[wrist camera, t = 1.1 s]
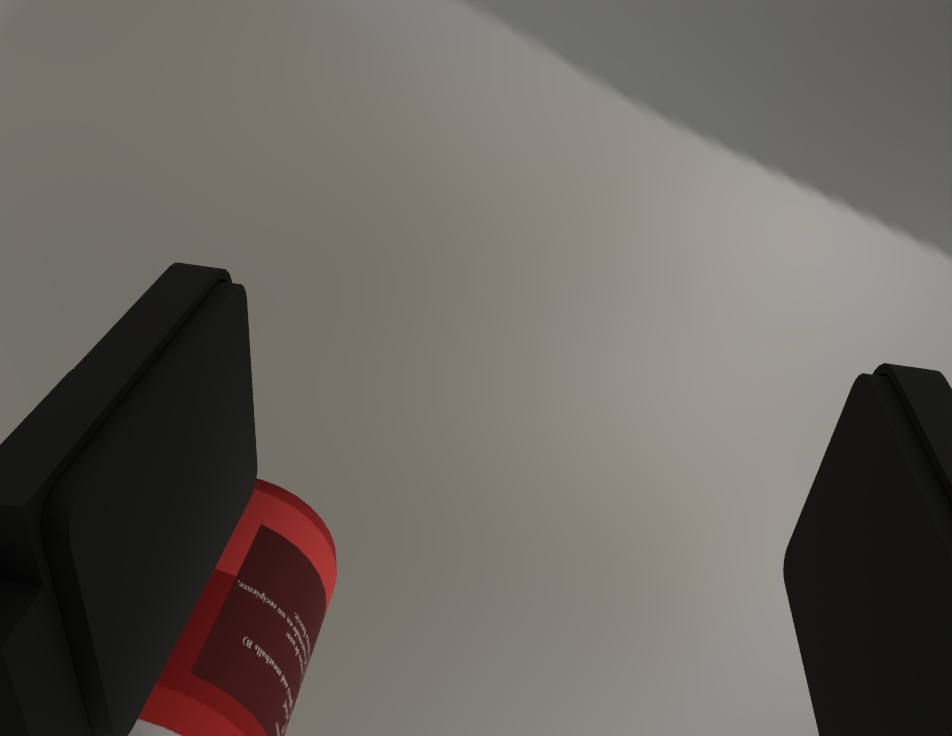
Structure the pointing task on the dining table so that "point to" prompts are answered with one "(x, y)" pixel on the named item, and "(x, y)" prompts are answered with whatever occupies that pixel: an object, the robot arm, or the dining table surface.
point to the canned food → (249, 627)
